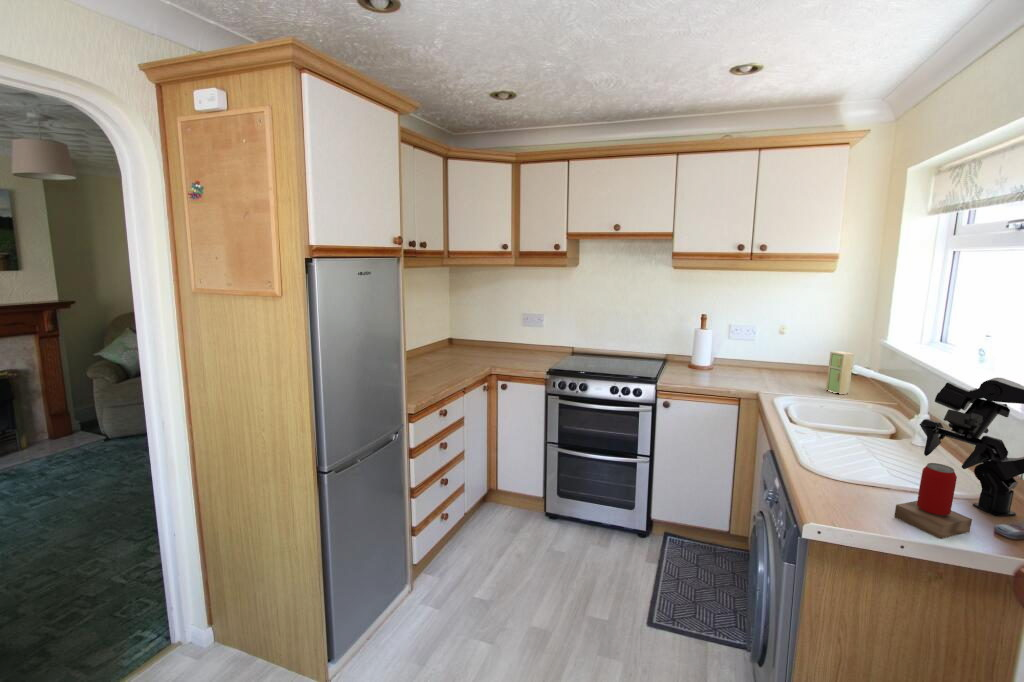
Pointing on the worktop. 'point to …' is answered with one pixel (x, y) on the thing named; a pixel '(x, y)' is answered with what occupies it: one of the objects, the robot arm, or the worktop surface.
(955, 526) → the walnut block
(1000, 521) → the worktop surface
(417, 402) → the worktop surface
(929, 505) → the beverage can
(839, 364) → the toy refrigerator
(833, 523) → the worktop surface
